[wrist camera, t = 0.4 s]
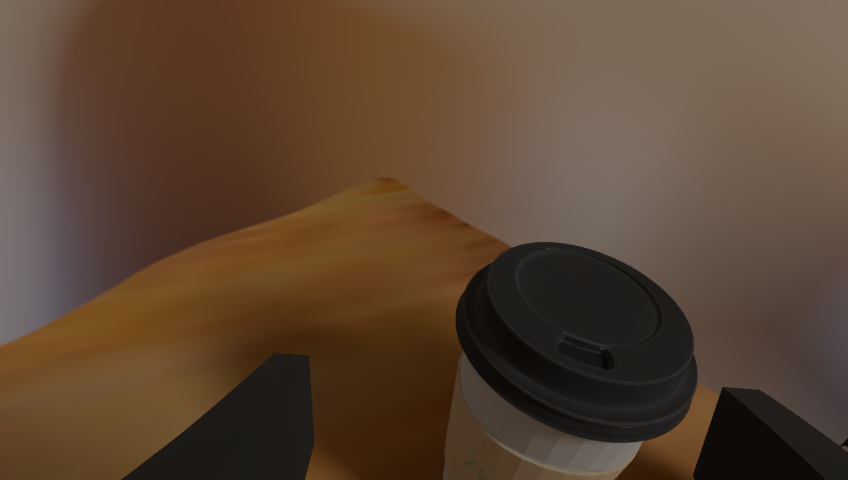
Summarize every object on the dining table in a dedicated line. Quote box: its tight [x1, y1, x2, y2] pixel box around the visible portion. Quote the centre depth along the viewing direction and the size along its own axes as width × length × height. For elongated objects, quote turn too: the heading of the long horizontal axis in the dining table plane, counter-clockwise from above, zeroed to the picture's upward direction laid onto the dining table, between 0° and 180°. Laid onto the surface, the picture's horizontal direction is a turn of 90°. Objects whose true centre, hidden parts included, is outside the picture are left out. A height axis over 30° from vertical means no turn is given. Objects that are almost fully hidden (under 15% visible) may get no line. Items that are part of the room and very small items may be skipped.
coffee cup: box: [442, 242, 698, 480], centre depth 24 cm, size 9×9×15 cm
